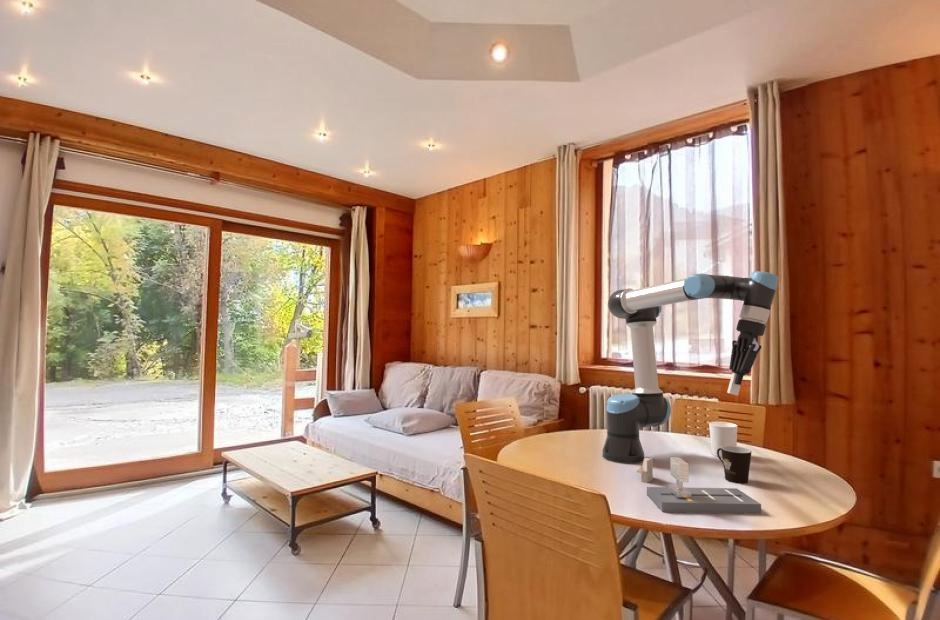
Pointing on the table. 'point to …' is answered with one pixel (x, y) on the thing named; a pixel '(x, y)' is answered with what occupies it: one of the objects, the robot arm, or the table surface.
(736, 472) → the coffee mug
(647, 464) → the architectural model
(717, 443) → the candle holder
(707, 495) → the console
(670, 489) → the fader
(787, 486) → the table surface
